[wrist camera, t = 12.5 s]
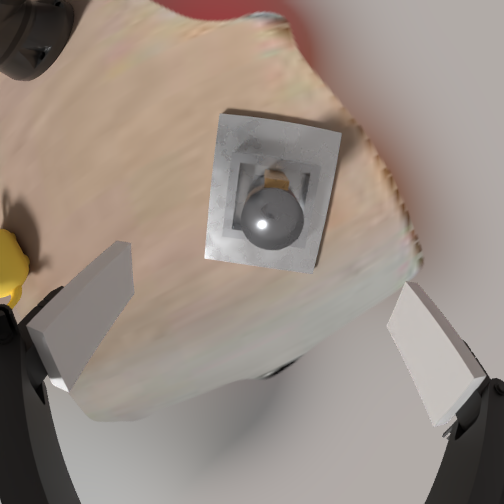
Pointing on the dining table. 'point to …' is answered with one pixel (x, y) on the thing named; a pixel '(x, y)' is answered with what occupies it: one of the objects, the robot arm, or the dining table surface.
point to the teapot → (12, 267)
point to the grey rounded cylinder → (271, 212)
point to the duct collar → (253, 167)
